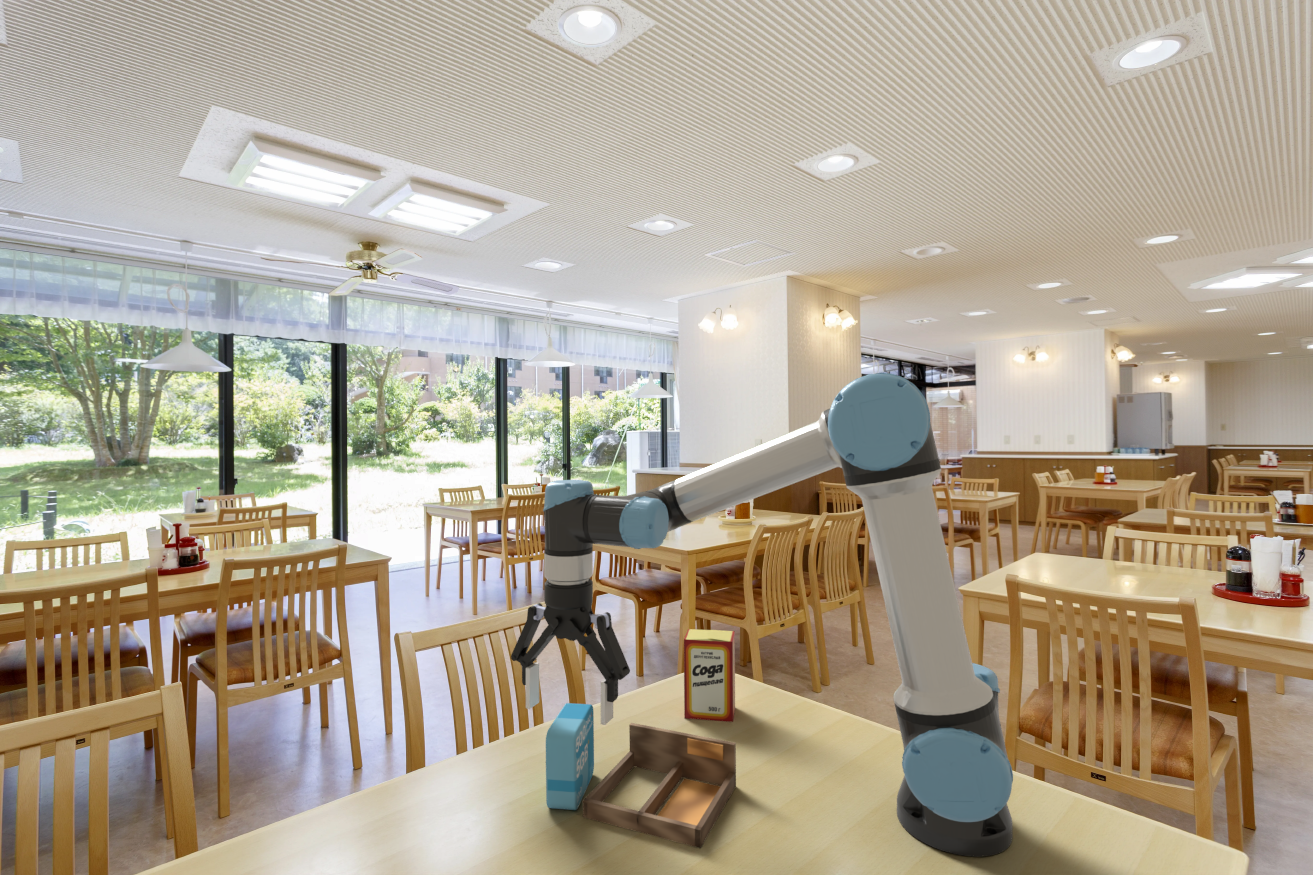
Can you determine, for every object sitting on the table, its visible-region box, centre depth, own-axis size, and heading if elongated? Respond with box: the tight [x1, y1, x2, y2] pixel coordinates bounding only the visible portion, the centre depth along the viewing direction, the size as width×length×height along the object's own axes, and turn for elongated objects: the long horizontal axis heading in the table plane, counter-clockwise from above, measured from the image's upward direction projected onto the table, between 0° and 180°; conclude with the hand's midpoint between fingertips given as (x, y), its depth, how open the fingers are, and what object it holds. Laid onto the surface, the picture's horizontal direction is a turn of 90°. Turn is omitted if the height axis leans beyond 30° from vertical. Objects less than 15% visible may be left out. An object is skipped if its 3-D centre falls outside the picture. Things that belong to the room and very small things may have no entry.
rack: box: [582, 722, 737, 849], centre depth 101 cm, size 18×17×7 cm
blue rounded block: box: [545, 702, 595, 811], centre depth 104 cm, size 12×4×12 cm, turn 172°
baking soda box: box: [683, 628, 736, 723], centre depth 131 cm, size 10×6×16 cm
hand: (568, 713), depth 104 cm, fingers open, 13 cm apart
